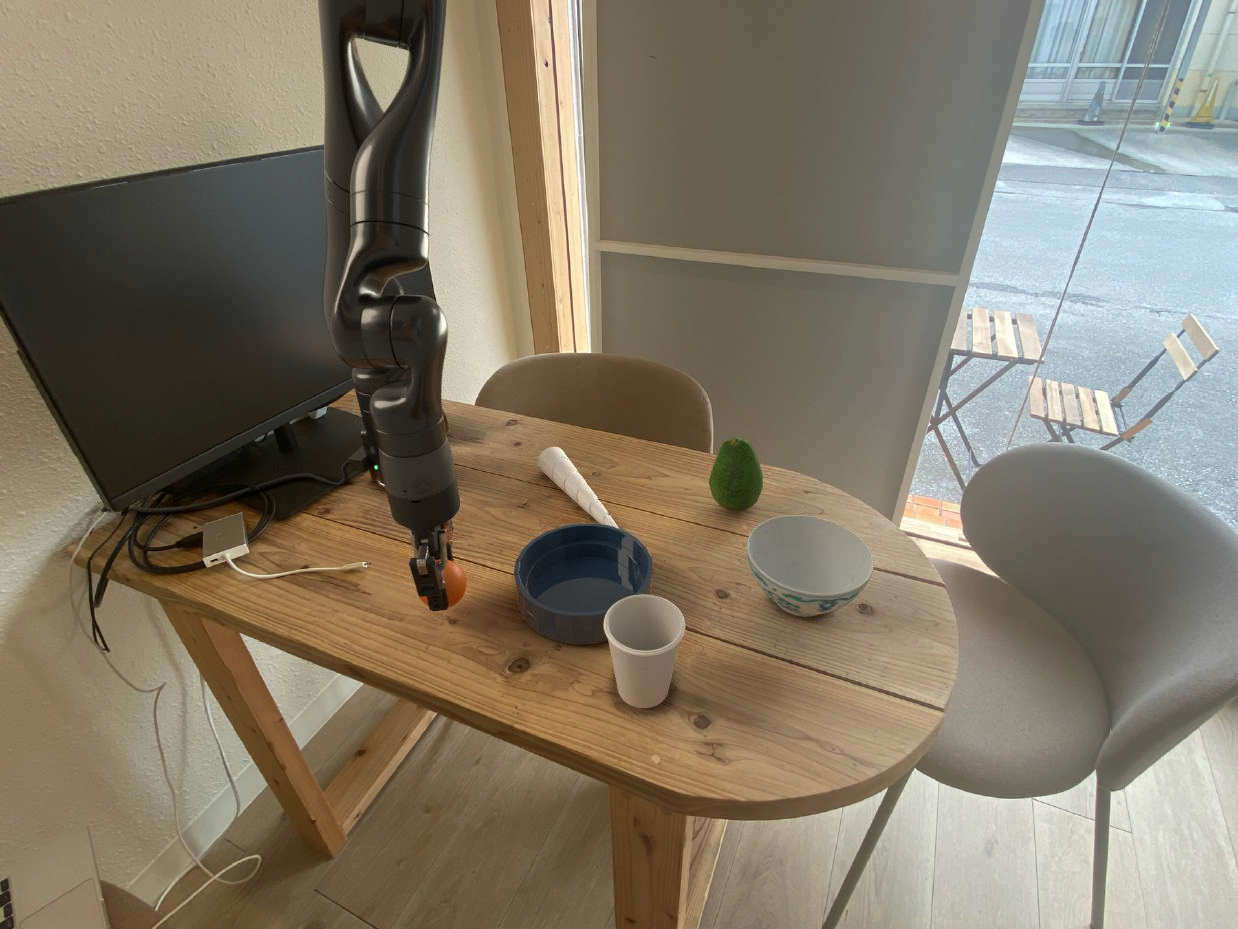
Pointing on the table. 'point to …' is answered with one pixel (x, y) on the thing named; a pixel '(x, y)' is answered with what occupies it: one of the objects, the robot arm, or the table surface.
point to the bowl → (579, 579)
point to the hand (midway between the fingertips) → (442, 589)
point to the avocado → (736, 475)
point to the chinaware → (808, 563)
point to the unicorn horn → (572, 483)
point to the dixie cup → (644, 647)
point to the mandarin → (452, 583)
